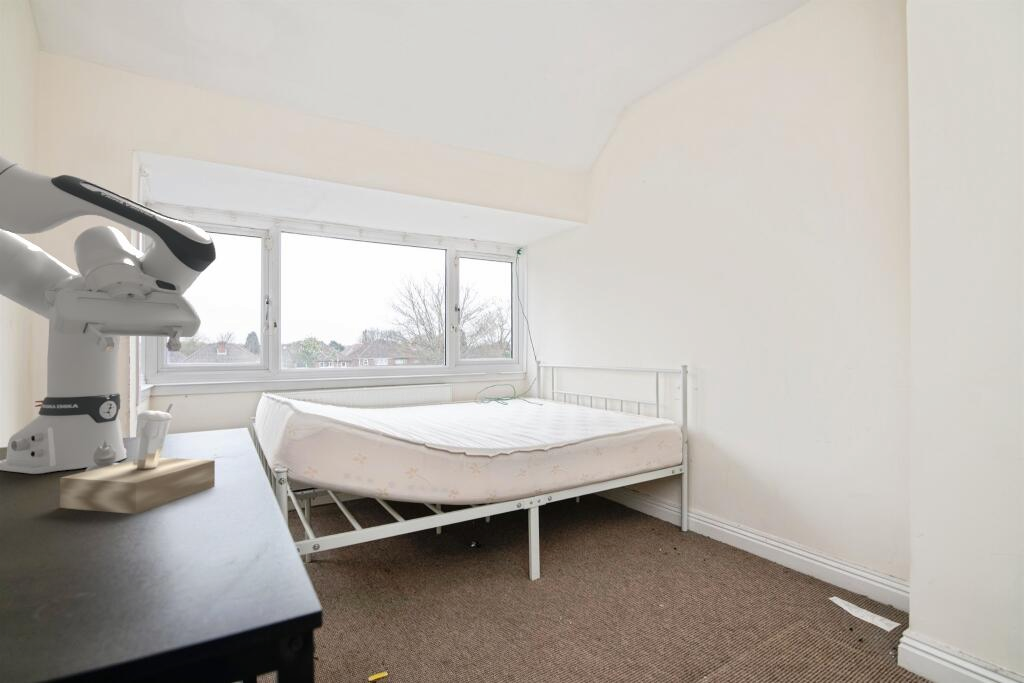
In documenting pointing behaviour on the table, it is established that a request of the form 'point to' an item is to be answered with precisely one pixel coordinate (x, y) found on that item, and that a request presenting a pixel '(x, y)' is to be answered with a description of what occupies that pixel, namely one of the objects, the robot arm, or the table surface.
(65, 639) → the table surface
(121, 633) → the table surface
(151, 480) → the block
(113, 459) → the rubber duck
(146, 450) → the milkshake
